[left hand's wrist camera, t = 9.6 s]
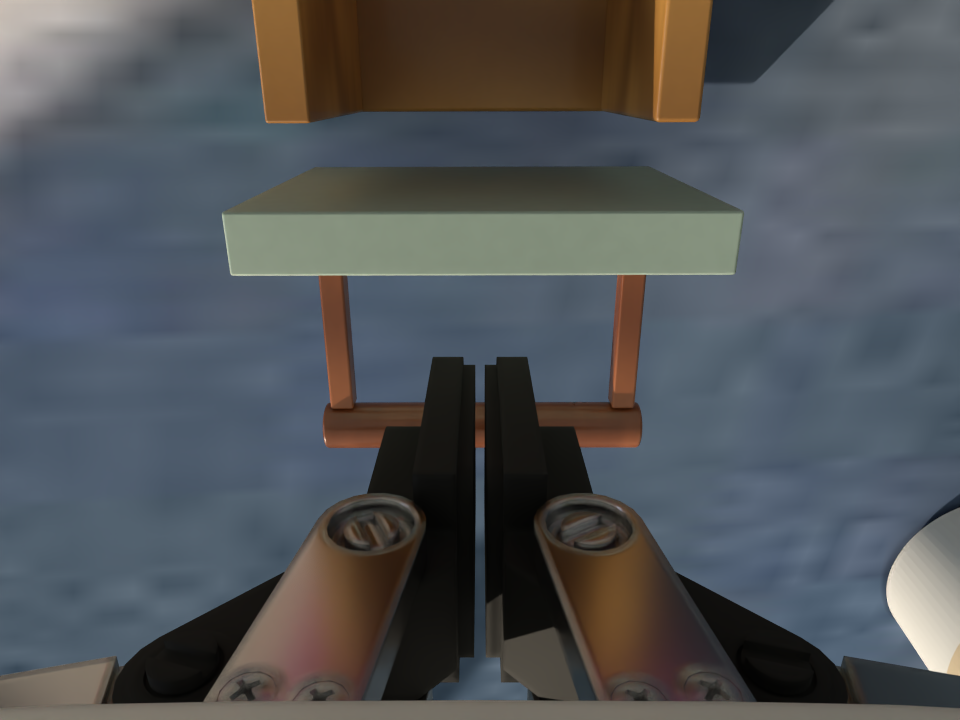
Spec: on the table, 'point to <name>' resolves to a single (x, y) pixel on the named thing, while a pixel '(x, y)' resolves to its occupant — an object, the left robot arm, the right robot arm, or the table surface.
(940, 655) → the coffee cup
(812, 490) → the table surface
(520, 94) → the drawer
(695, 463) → the table surface
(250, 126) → the table surface
